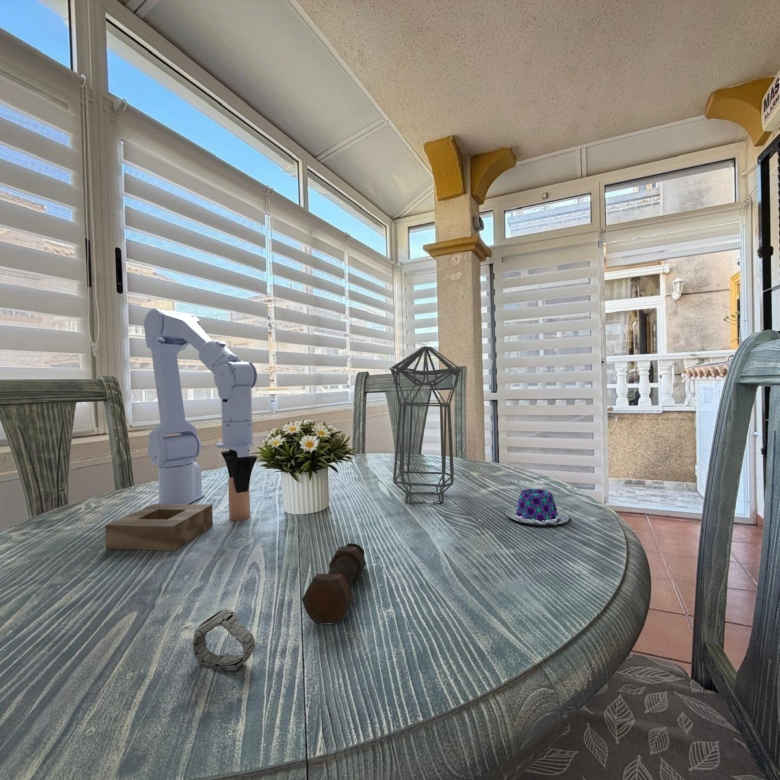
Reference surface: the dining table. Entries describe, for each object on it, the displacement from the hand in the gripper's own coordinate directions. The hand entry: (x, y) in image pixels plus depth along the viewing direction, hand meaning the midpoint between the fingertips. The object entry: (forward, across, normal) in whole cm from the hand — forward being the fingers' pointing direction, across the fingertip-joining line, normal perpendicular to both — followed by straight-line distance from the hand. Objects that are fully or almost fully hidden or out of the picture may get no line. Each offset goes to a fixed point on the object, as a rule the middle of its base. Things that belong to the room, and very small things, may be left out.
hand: (239, 487), depth 84 cm
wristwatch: (+6, +46, -8) cm, 47 cm away
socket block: (+6, +4, -14) cm, 15 cm away
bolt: (+7, +38, +7) cm, 40 cm away
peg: (+6, 0, 0) cm, 6 cm away
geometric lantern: (+6, +8, +40) cm, 41 cm away
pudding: (+7, +31, +50) cm, 59 cm away
